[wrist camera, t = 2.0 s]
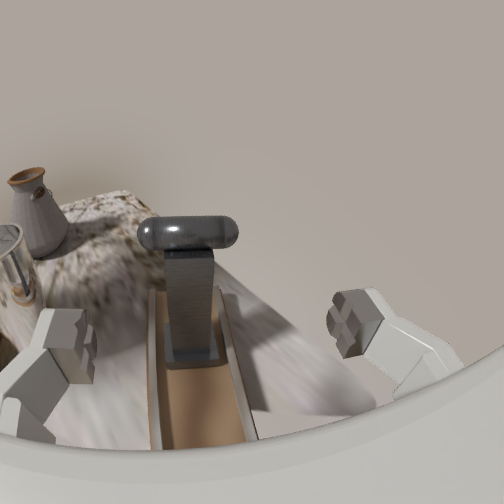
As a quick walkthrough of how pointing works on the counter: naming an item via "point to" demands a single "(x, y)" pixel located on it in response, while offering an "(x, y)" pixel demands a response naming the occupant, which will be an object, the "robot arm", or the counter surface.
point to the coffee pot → (37, 212)
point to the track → (195, 388)
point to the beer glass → (18, 288)
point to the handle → (189, 282)
